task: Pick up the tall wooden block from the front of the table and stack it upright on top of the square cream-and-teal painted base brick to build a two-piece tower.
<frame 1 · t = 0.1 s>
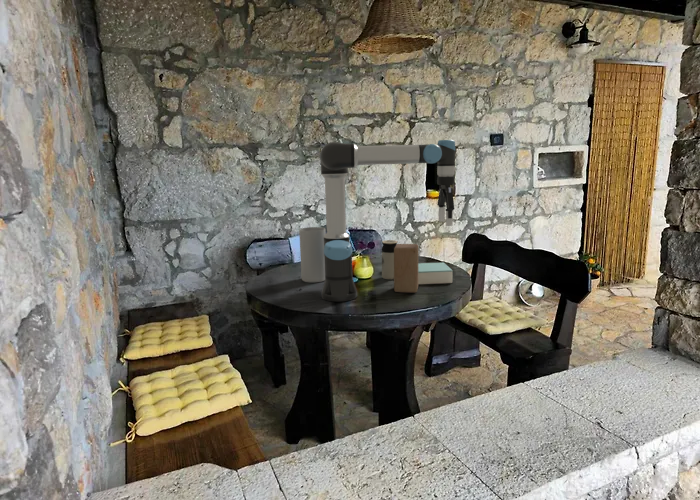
hand: (445, 223, 211), 28 cm above the table, tool pointing down, fingers open, 13 cm apart
cylinder vase: (314, 280, 229), on the table
base brick: (431, 279, 225), on the table
plant pot: (403, 270, 245), on the table
wooden block: (406, 290, 208), on the table
travel mug: (390, 277, 230), on the table
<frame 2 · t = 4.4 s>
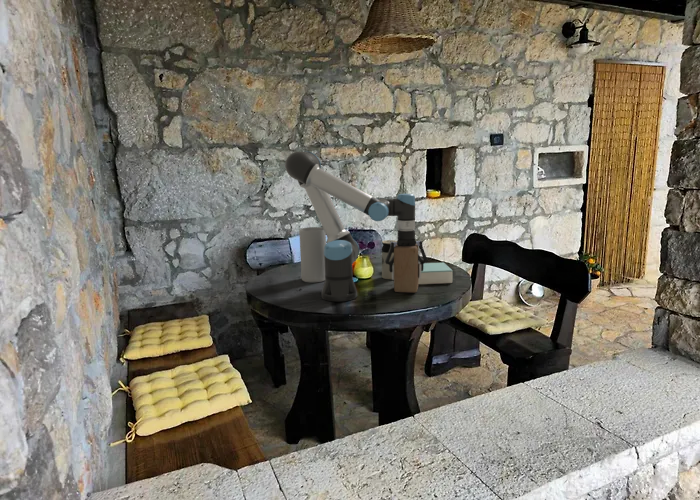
hand: (406, 278, 207), 5 cm above the table, tool pointing down, fingers closed on wooden block, 11 cm apart
wooden block: (406, 290, 208), on the table, touching gripper
everything else where it was.
when the fingers open (12 cm above the table, at t = 12.7 s): wooden block drops 1 cm, resting on base brick.
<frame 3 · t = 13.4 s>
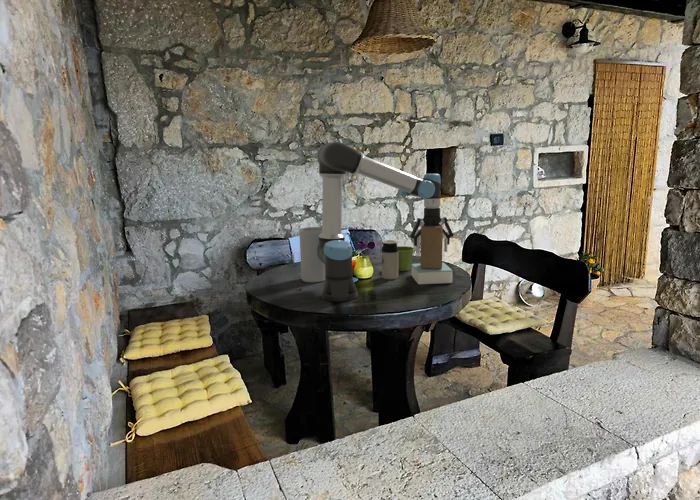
hand: (431, 252, 222), 13 cm above the table, tool pointing down, fingers open, 13 cm apart
wooden block: (431, 267, 223), point 6 cm above the table, touching base brick
everything else where it was.
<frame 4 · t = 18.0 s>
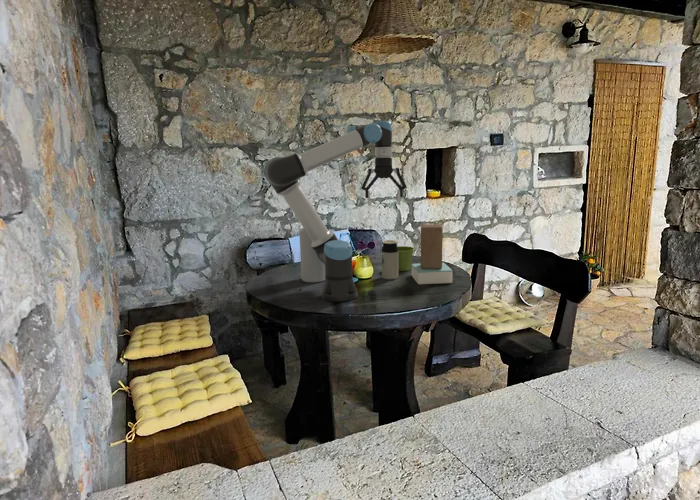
hand: (383, 205, 212), 37 cm above the table, tool pointing down, fingers open, 13 cm apart
nothing on the table moved.
at the end: wooden block inside the target area on the base brick (0.1 cm from its centre), point 5.8 cm above the base brick's base; wooden block tilted 0°; the gripper is holding nothing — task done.
